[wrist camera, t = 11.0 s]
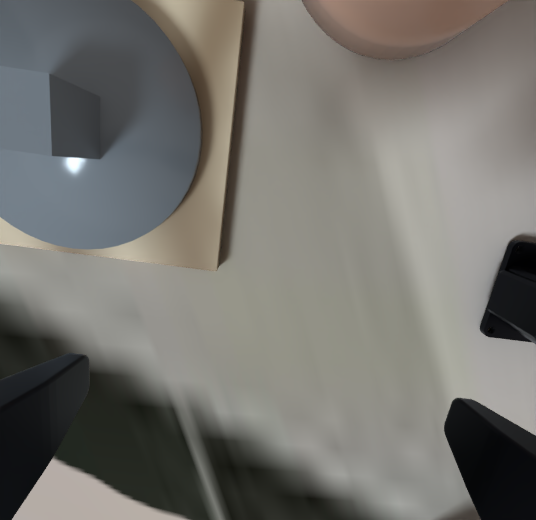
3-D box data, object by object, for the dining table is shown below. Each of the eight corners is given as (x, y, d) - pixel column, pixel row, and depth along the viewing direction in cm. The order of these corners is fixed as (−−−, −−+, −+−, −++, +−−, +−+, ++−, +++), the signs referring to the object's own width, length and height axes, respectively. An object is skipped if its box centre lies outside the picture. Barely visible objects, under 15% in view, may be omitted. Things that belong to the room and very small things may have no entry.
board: (245, 11, 17) (243, 1, 16) (218, 266, 21) (216, 271, 20) (-76, -43, 16) (-98, -57, 15) (-44, 232, 20) (-60, 236, 19)
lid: (213, 6, 16) (192, -65, 11) (193, 258, 19) (170, 287, 15) (-62, -40, 15) (-210, -137, 10) (-33, 229, 19) (-136, 250, 14)
